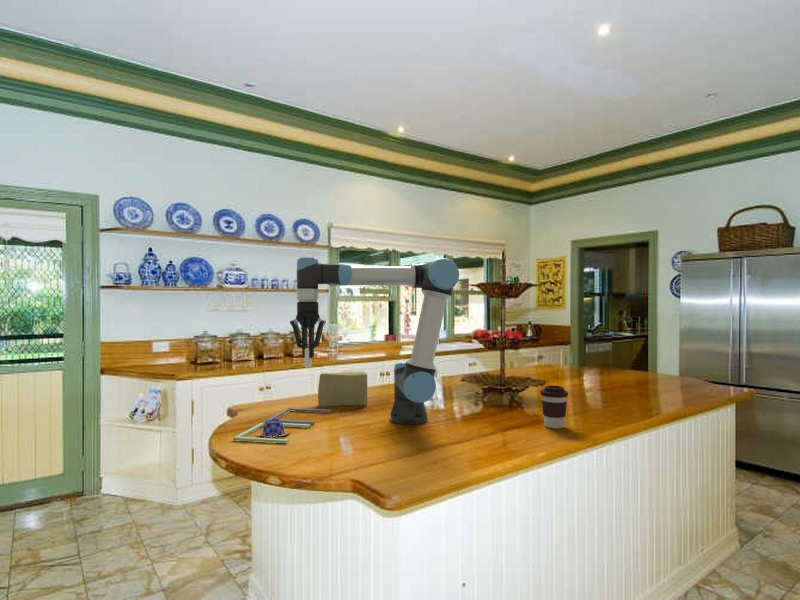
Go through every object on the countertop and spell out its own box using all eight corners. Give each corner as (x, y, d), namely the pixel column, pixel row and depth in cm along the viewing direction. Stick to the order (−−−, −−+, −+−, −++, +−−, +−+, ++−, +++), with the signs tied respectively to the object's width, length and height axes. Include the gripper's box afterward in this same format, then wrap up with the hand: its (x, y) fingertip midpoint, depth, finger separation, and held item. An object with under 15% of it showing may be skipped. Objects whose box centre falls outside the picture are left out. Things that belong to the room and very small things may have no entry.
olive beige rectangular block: (319, 408, 207) (319, 375, 207) (317, 404, 216) (317, 371, 216) (368, 405, 213) (367, 373, 213) (364, 401, 222) (364, 370, 222)
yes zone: (310, 427, 176) (310, 424, 176) (286, 444, 155) (286, 440, 155) (262, 425, 179) (262, 421, 179) (233, 441, 159) (233, 437, 159)
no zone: (331, 412, 199) (331, 409, 199) (313, 425, 179) (313, 422, 179) (288, 410, 203) (288, 407, 203) (266, 423, 182) (266, 420, 182)
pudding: (255, 441, 159) (255, 426, 159) (256, 432, 171) (256, 417, 171) (291, 438, 162) (291, 423, 162) (290, 429, 174) (290, 415, 174)
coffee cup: (569, 424, 179) (569, 385, 179) (566, 431, 170) (566, 390, 170) (542, 421, 183) (542, 383, 183) (538, 428, 174) (538, 388, 174)
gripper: (328, 300, 168) (329, 365, 168) (294, 301, 170) (295, 365, 170) (321, 300, 161) (322, 368, 161) (286, 301, 163) (286, 368, 163)
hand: (308, 367), depth 166 cm, fingers closed
